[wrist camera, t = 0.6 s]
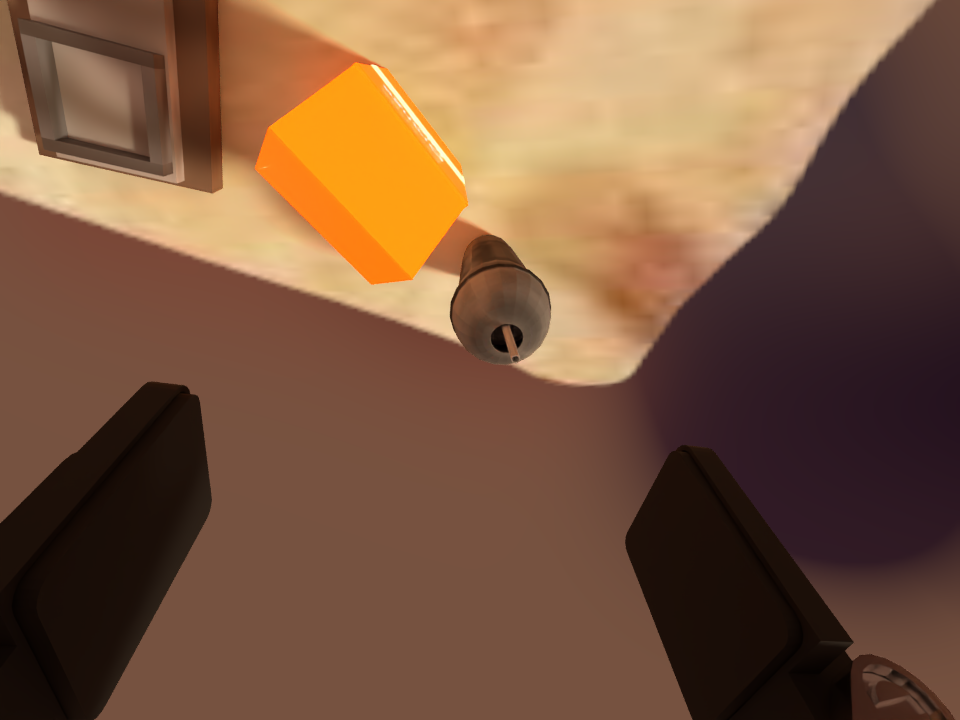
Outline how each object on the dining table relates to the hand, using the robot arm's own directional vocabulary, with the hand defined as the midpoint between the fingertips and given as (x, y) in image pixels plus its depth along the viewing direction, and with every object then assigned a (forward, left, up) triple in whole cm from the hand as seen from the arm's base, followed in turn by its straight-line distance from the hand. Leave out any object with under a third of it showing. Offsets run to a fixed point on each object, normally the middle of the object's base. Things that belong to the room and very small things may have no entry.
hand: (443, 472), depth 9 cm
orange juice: (-1, -5, -35) cm, 35 cm away
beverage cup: (+6, +5, -35) cm, 36 cm away
